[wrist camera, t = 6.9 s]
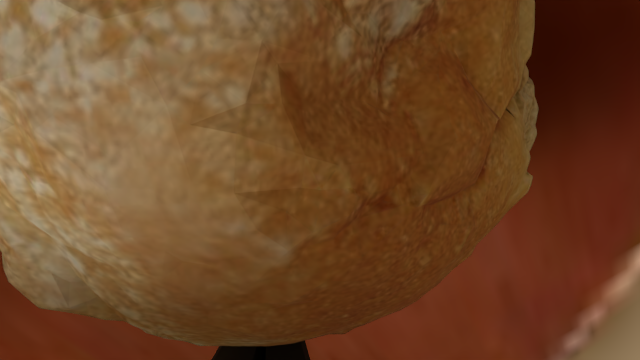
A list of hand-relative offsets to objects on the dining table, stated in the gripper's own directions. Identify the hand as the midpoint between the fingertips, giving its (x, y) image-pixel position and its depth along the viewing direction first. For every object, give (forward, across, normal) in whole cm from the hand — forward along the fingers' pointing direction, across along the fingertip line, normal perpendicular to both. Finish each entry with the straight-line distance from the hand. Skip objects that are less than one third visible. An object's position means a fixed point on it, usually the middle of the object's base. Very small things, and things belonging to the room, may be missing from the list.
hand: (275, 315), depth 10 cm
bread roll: (+2, 0, -6) cm, 6 cm away
